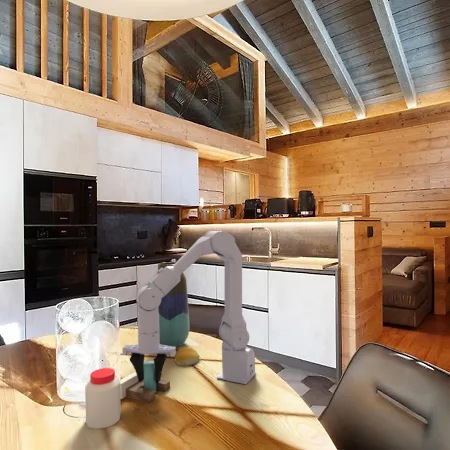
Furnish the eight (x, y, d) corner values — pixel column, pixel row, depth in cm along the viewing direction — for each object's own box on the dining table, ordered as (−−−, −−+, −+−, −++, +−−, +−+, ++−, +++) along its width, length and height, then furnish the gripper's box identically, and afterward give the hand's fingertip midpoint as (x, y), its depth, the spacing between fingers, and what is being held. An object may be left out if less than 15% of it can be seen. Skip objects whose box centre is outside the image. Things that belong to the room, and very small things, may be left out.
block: (170, 388, 96) (170, 380, 96) (149, 403, 88) (149, 395, 88) (147, 382, 100) (147, 375, 100) (125, 396, 92) (125, 389, 92)
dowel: (158, 391, 95) (157, 362, 95) (151, 396, 92) (150, 366, 92) (149, 389, 96) (148, 360, 96) (141, 394, 93) (141, 364, 93)
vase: (196, 342, 134) (195, 262, 135) (173, 353, 123) (171, 265, 123) (169, 336, 142) (168, 260, 142) (145, 347, 130) (143, 264, 130)
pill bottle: (83, 431, 77) (82, 382, 77) (87, 413, 84) (87, 368, 84) (120, 425, 79) (119, 377, 79) (121, 408, 86) (120, 364, 86)
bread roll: (177, 368, 111) (176, 355, 111) (173, 357, 119) (173, 346, 119) (202, 364, 113) (201, 352, 113) (196, 355, 122) (196, 343, 122)
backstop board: (151, 380, 101) (150, 366, 101) (121, 399, 91) (121, 383, 91) (145, 379, 102) (145, 365, 102) (115, 397, 92) (115, 382, 92)
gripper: (178, 327, 97) (179, 375, 97) (129, 326, 99) (130, 373, 99) (171, 335, 90) (172, 387, 90) (118, 333, 92) (119, 384, 92)
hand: (149, 380), depth 94 cm, fingers open, 4 cm apart
